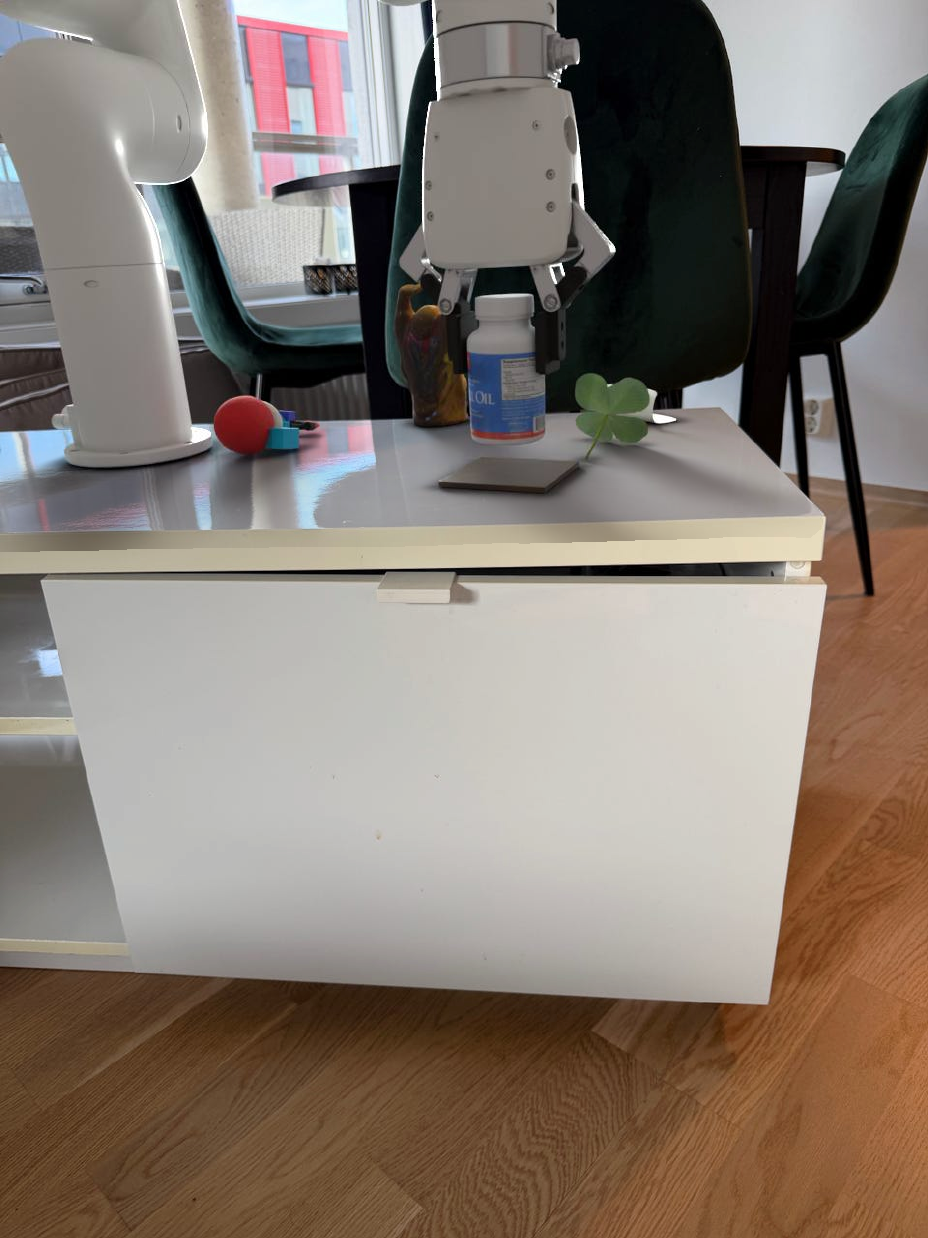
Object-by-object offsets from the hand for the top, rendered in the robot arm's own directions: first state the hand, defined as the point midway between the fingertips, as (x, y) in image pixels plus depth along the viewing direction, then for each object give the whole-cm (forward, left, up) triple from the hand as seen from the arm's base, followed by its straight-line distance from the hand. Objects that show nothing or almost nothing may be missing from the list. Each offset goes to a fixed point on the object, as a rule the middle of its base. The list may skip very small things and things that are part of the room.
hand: (506, 369), depth 62 cm
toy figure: (-26, +6, -8) cm, 28 cm away
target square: (0, 0, -8) cm, 8 cm away
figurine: (-15, +20, -8) cm, 26 cm away
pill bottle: (0, 0, -5) cm, 5 cm away
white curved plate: (+4, +25, -8) cm, 26 cm away
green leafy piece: (+4, +10, -8) cm, 13 cm away
